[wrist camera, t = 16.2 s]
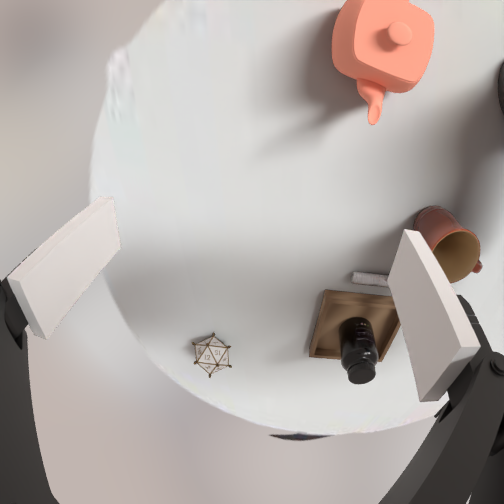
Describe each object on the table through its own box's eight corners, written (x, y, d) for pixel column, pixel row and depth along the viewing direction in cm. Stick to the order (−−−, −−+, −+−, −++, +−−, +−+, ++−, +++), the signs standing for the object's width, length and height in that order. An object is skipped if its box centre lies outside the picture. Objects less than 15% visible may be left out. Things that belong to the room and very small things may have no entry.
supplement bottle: (361, 342, 58) (367, 390, 48) (332, 335, 58) (334, 384, 48) (378, 319, 55) (388, 368, 45) (347, 311, 54) (353, 362, 44)
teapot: (344, -23, 26) (360, -55, 16) (424, 8, 26) (462, -8, 16) (312, 100, 37) (318, 107, 27) (392, 127, 37) (423, 146, 27)
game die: (224, 335, 69) (220, 377, 65) (188, 330, 65) (184, 374, 62) (241, 333, 61) (237, 381, 58) (201, 327, 58) (196, 378, 54)
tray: (406, 297, 52) (409, 306, 50) (379, 353, 60) (381, 361, 58) (325, 289, 53) (325, 298, 51) (309, 347, 62) (309, 356, 60)
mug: (397, 234, 46) (416, 271, 37) (425, 189, 41) (452, 218, 32) (447, 260, 46) (468, 297, 38) (473, 221, 42) (501, 253, 33)
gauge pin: (415, 276, 49) (418, 283, 47) (411, 285, 50) (414, 292, 48) (353, 269, 50) (354, 276, 49) (350, 278, 51) (352, 285, 50)
